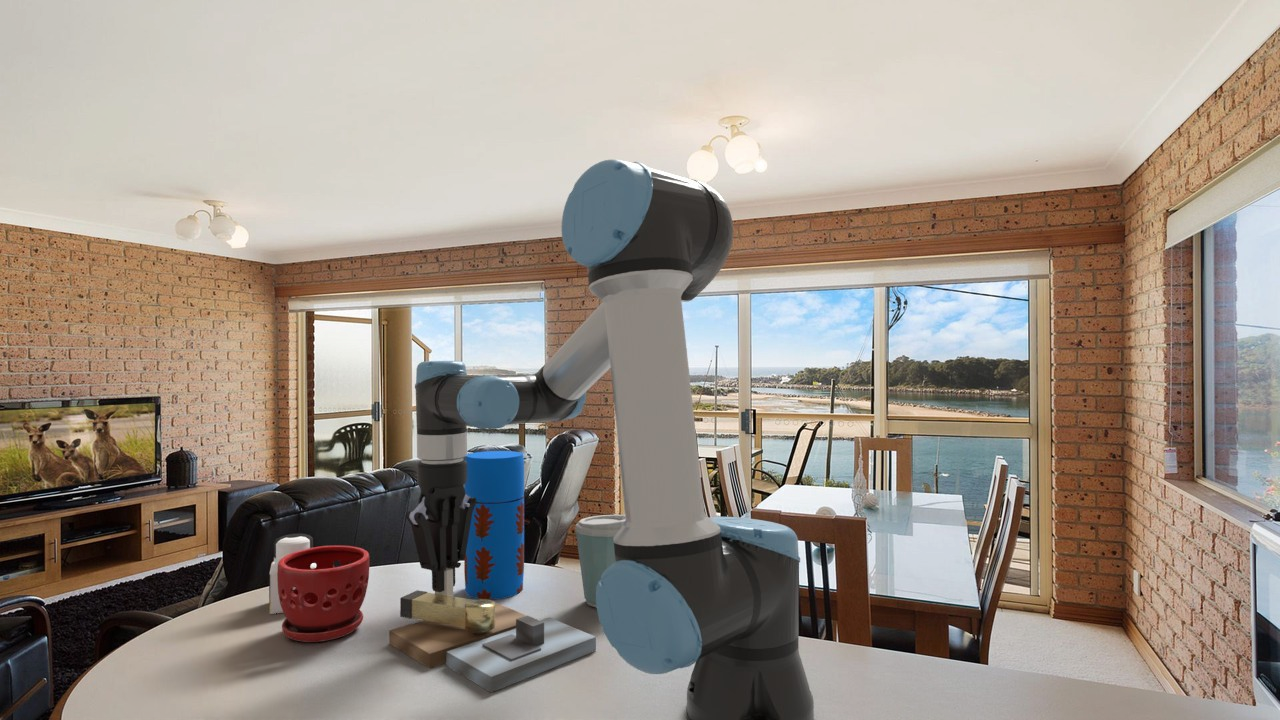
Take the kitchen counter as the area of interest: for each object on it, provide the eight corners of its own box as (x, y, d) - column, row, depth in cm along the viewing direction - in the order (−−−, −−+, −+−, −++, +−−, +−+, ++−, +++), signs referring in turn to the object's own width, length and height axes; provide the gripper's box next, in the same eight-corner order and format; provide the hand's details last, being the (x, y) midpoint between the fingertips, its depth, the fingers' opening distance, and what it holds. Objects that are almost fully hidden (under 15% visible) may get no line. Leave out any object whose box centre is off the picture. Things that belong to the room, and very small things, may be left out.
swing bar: (500, 624, 105) (500, 601, 105) (483, 634, 101) (483, 611, 101) (418, 610, 111) (418, 588, 111) (399, 619, 106) (399, 597, 106)
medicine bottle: (271, 601, 123) (271, 533, 123) (316, 595, 126) (316, 529, 126) (269, 615, 116) (269, 543, 116) (316, 608, 119) (316, 538, 119)
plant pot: (257, 644, 104) (257, 564, 104) (317, 613, 117) (317, 542, 117) (332, 653, 101) (332, 570, 101) (386, 620, 114) (386, 547, 114)
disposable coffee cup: (563, 607, 120) (563, 520, 120) (591, 588, 129) (591, 508, 129) (619, 616, 115) (619, 526, 115) (644, 596, 125) (644, 513, 125)
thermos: (510, 601, 123) (510, 459, 123) (454, 597, 125) (454, 457, 125) (532, 582, 133) (532, 451, 133) (480, 578, 135) (480, 450, 135)
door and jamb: (596, 650, 102) (596, 616, 102) (477, 697, 88) (477, 658, 88) (501, 609, 119) (501, 580, 119) (389, 643, 104) (389, 610, 104)
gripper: (454, 452, 116) (456, 592, 117) (392, 464, 105) (394, 619, 105) (488, 455, 112) (490, 600, 113) (428, 468, 101) (430, 629, 102)
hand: (444, 609), depth 109 cm, fingers closed
